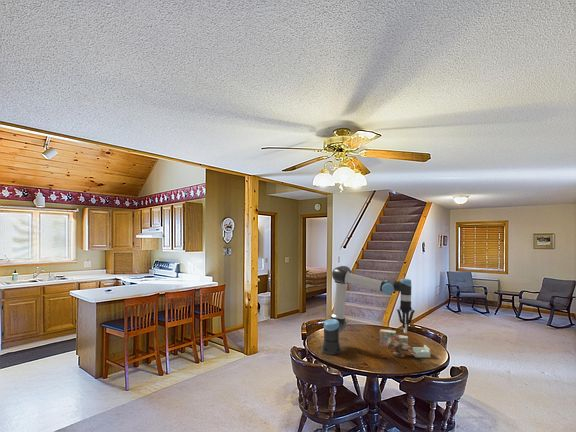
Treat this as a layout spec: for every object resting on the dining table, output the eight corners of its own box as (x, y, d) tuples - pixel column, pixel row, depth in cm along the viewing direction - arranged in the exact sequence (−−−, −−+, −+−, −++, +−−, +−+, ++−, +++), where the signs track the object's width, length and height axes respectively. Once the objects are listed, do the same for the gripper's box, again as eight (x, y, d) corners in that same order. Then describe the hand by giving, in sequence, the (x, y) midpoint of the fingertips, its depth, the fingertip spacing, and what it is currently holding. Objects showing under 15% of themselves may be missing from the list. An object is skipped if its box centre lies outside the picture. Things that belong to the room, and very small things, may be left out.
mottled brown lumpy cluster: (390, 351, 243) (393, 341, 243) (385, 345, 254) (388, 337, 254) (414, 359, 242) (416, 349, 242) (408, 353, 253) (411, 344, 254)
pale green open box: (415, 357, 245) (415, 349, 246) (410, 352, 255) (410, 344, 256) (430, 357, 245) (430, 349, 245) (425, 352, 255) (425, 344, 255)
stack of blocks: (408, 348, 266) (408, 332, 267) (407, 350, 261) (407, 334, 261) (380, 344, 276) (380, 328, 276) (379, 346, 270) (379, 330, 271)
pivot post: (396, 356, 247) (396, 345, 247) (393, 352, 255) (393, 341, 255) (404, 356, 246) (404, 345, 247) (401, 352, 255) (401, 341, 255)
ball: (422, 349, 249) (427, 351, 249) (420, 348, 252) (425, 349, 252) (421, 354, 249) (425, 355, 248) (419, 352, 252) (424, 354, 252)
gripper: (398, 301, 243) (397, 333, 242) (416, 301, 242) (416, 334, 241) (395, 298, 250) (394, 330, 249) (412, 299, 250) (412, 331, 249)
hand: (405, 332), depth 245 cm, fingers closed
